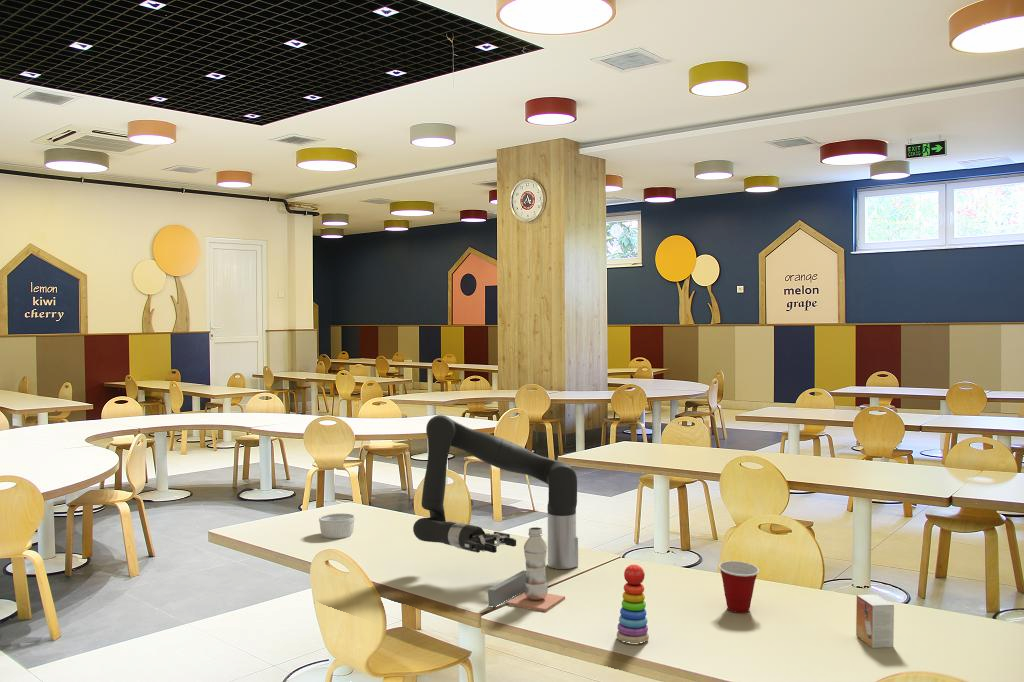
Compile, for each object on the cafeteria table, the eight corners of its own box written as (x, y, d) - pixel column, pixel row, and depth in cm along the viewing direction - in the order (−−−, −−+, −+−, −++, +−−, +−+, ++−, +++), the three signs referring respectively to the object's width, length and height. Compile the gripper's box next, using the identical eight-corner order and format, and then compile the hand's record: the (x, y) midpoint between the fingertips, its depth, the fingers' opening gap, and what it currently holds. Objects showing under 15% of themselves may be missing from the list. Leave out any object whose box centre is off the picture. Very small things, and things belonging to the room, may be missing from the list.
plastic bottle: (545, 603, 234) (545, 532, 234) (522, 602, 236) (521, 531, 235) (549, 596, 241) (549, 526, 240) (526, 594, 242) (525, 525, 241)
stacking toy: (627, 647, 204) (627, 571, 204) (610, 636, 212) (610, 562, 211) (655, 642, 207) (654, 567, 207) (637, 631, 215) (637, 558, 214)
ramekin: (326, 530, 322) (326, 512, 322) (359, 531, 320) (359, 513, 320) (313, 539, 309) (313, 520, 309) (348, 540, 307) (348, 521, 307)
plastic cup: (737, 619, 223) (737, 574, 223) (710, 607, 233) (710, 564, 232) (768, 612, 228) (768, 568, 228) (740, 600, 238) (740, 558, 237)
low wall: (523, 586, 252) (523, 570, 251) (529, 587, 251) (529, 571, 250) (488, 606, 234) (488, 589, 234) (494, 608, 233) (494, 590, 233)
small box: (855, 636, 211) (855, 594, 210) (877, 635, 211) (877, 593, 211) (872, 648, 203) (872, 605, 202) (894, 647, 203) (894, 604, 203)
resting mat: (528, 592, 246) (528, 589, 246) (565, 599, 240) (565, 596, 240) (507, 604, 236) (507, 602, 236) (545, 611, 230) (545, 609, 230)
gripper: (449, 529, 251) (488, 538, 240) (482, 520, 262) (521, 528, 251) (449, 554, 251) (489, 564, 240) (482, 544, 262) (522, 553, 251)
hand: (505, 545), depth 246 cm, fingers open, 8 cm apart
